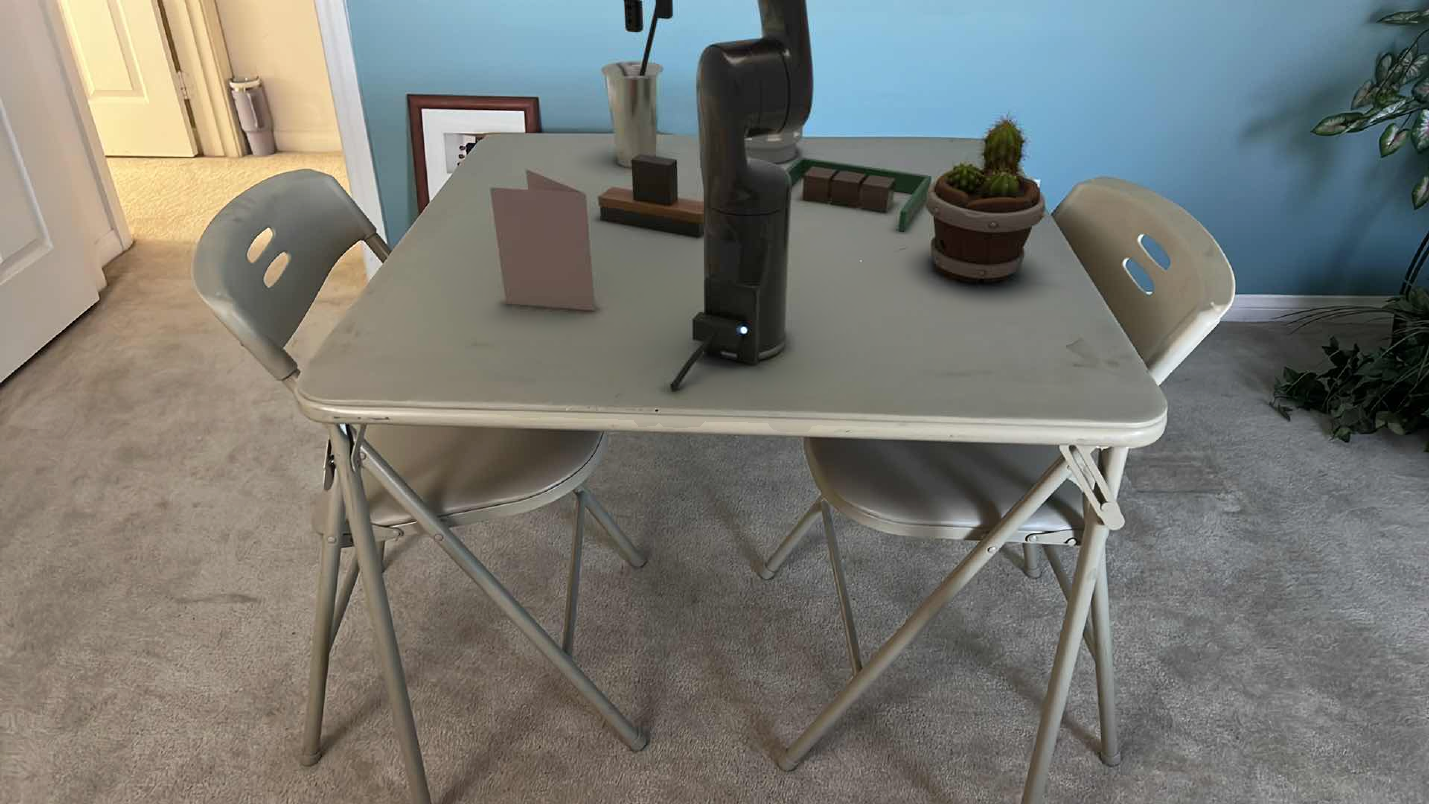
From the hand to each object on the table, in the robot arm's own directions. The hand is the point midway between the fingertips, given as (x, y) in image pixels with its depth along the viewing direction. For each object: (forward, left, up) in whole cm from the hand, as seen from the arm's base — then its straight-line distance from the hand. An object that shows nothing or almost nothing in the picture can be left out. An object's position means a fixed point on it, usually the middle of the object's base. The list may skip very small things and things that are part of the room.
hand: (649, 24), depth 122 cm
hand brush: (0, 0, -28) cm, 28 cm away
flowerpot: (+3, -45, -28) cm, 53 cm away
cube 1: (+19, -28, -28) cm, 43 cm away
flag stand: (+35, -3, -28) cm, 45 cm away
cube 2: (+19, -23, -28) cm, 41 cm away
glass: (+23, +15, -28) cm, 39 cm away
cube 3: (+19, -18, -28) cm, 38 cm away
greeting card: (-28, +1, -28) cm, 39 cm away
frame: (+19, -23, -28) cm, 41 cm away
